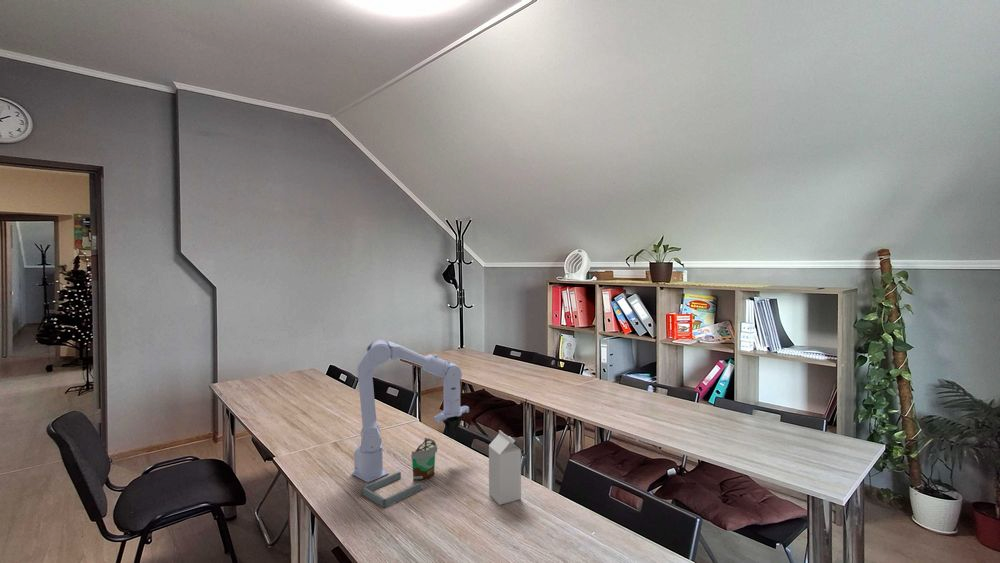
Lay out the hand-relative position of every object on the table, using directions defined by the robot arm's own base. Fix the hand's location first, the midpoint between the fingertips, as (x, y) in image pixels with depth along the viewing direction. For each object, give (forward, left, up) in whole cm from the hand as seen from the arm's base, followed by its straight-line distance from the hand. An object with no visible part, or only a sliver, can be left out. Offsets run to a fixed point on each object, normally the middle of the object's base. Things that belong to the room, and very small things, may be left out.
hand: (452, 437), depth 157 cm
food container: (0, -11, -9) cm, 14 cm away
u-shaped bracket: (0, -25, -9) cm, 27 cm away
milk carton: (+28, -5, -9) cm, 30 cm away
